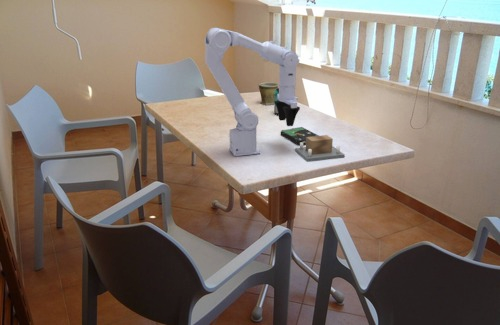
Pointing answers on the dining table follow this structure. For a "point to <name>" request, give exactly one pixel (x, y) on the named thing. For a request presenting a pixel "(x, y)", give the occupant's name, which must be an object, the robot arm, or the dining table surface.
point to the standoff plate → (315, 157)
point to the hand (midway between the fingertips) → (286, 122)
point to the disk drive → (297, 135)
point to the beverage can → (276, 100)
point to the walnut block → (319, 144)
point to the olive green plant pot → (268, 93)
